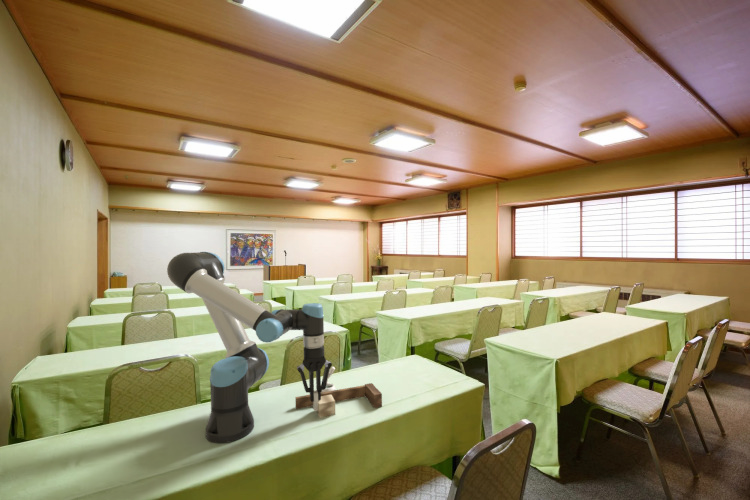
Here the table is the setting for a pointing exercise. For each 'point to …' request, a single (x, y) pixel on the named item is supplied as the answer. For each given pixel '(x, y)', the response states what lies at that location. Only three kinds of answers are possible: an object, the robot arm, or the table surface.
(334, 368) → the hook
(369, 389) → the guide rail
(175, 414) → the table surface
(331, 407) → the beige wooden block
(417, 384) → the table surface
